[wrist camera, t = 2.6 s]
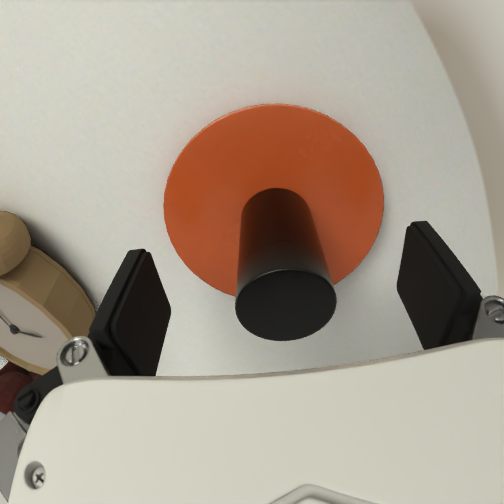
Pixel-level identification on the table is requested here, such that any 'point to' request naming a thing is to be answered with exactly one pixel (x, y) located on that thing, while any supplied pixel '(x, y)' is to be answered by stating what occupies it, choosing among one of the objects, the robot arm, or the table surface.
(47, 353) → the alarm clock
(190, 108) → the table surface
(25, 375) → the mate gourd
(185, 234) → the lid
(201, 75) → the table surface
